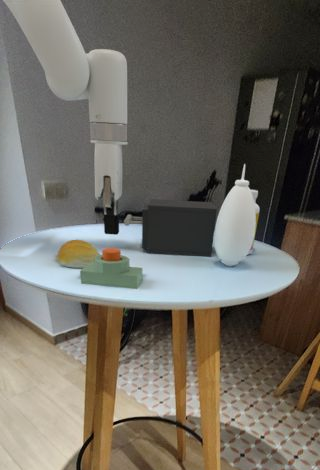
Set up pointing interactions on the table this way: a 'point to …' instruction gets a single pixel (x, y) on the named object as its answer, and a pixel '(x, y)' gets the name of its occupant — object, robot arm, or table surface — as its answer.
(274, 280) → the table surface
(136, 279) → the box
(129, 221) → the drawer
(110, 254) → the button
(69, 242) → the bread roll
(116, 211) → the robot arm
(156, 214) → the box
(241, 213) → the sauce bottle
